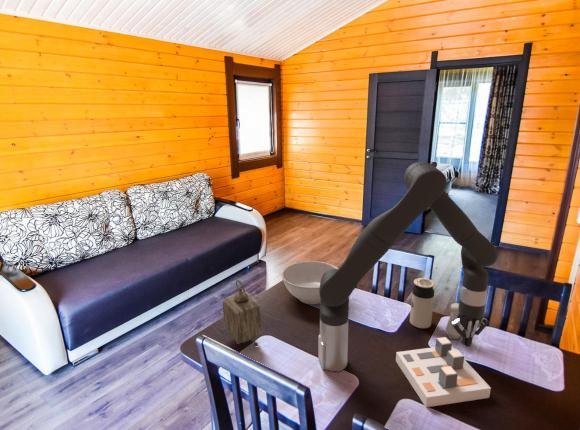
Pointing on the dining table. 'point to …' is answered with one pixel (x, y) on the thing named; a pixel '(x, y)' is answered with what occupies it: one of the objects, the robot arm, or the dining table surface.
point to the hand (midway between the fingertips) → (466, 345)
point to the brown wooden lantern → (242, 316)
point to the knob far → (443, 346)
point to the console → (425, 375)
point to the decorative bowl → (305, 280)
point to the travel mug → (422, 303)
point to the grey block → (448, 377)
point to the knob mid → (455, 359)
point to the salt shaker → (450, 329)
